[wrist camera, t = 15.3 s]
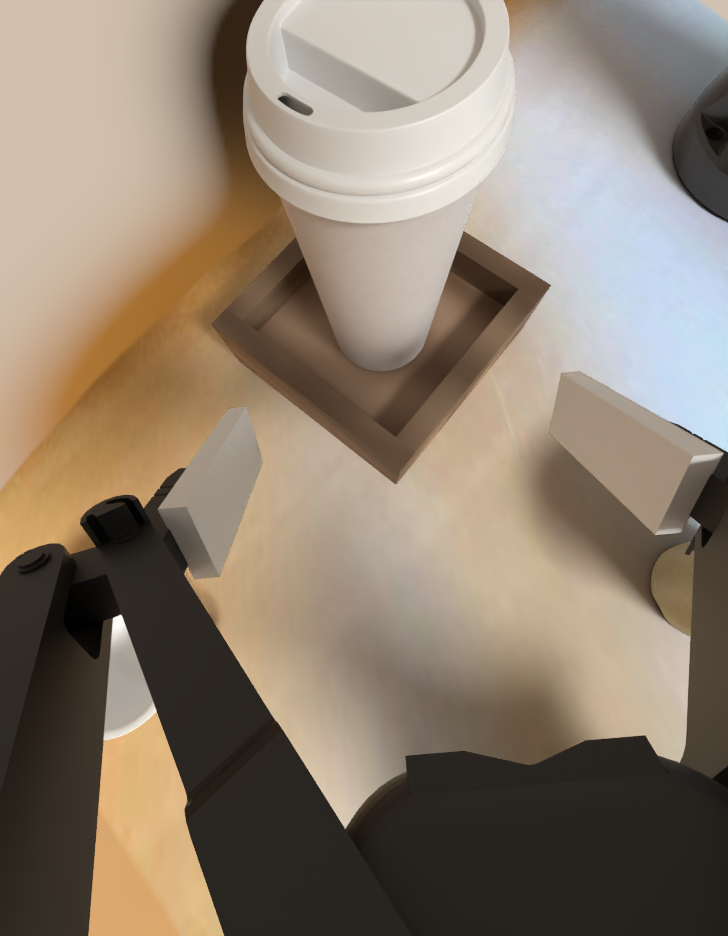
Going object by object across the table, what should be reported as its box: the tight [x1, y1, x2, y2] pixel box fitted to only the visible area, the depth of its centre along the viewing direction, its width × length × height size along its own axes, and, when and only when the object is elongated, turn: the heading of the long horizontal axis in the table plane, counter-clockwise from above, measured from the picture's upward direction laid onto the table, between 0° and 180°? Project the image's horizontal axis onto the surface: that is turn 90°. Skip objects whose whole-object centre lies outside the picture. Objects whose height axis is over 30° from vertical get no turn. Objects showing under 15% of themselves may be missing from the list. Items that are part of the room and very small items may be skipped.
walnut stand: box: [212, 231, 551, 484], centre depth 26 cm, size 16×16×5 cm
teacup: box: [103, 615, 157, 740], centre depth 22 cm, size 10×8×5 cm
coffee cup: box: [243, 0, 516, 371], centre depth 18 cm, size 10×10×15 cm
